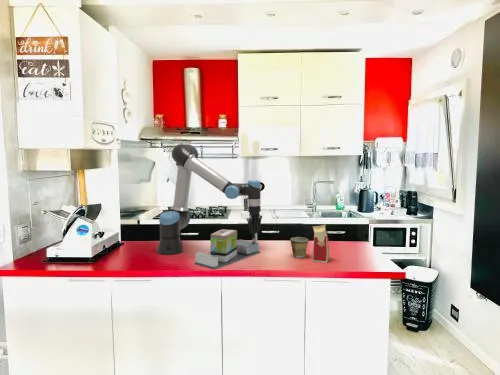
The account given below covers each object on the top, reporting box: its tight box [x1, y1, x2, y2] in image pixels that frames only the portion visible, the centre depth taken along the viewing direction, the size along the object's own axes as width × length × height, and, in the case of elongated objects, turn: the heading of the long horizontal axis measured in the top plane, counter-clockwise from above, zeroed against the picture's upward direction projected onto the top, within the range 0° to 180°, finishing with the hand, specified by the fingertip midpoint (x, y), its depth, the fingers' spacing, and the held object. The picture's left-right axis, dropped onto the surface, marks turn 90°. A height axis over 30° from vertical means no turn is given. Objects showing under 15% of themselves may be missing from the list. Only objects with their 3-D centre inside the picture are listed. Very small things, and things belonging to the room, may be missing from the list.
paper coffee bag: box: [311, 224, 330, 264], centre depth 192 cm, size 9×9×20 cm
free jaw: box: [237, 239, 260, 254], centre depth 207 cm, size 14×10×4 cm
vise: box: [194, 250, 261, 270], centre depth 197 cm, size 15×38×6 cm, turn 141°
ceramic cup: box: [290, 236, 309, 259], centre depth 201 cm, size 13×10×10 cm
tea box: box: [209, 228, 238, 262], centre depth 193 cm, size 15×10×15 cm
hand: (254, 243), depth 215 cm, fingers closed
